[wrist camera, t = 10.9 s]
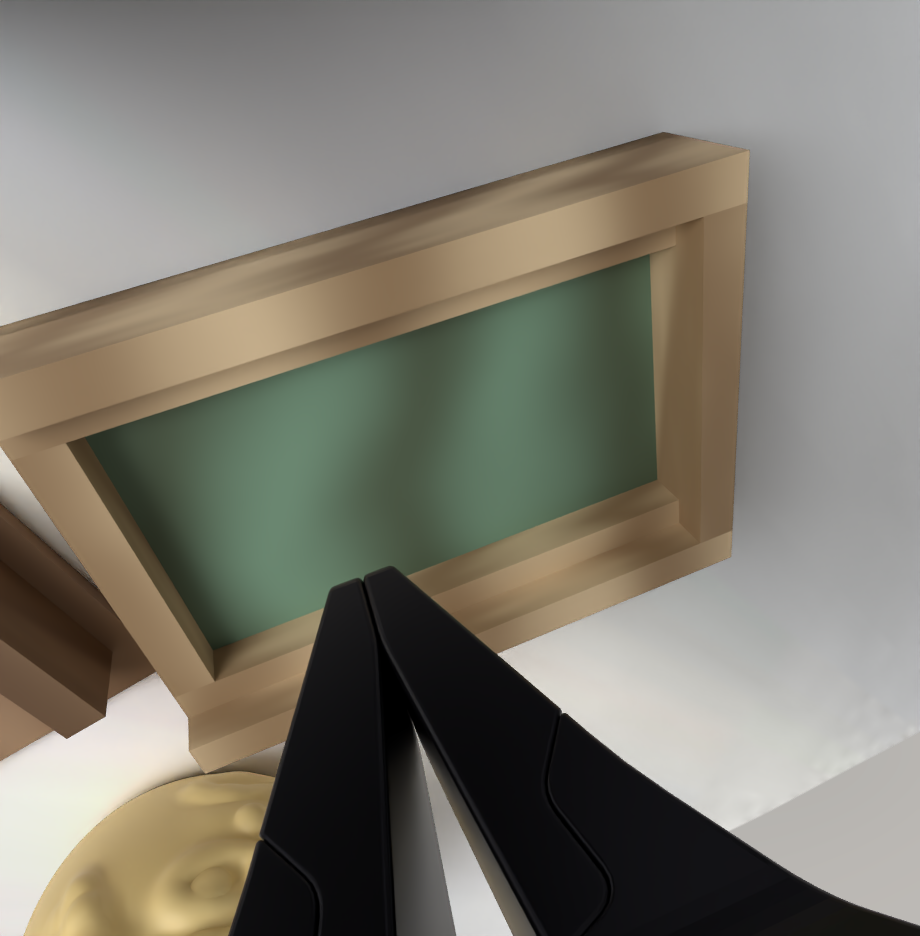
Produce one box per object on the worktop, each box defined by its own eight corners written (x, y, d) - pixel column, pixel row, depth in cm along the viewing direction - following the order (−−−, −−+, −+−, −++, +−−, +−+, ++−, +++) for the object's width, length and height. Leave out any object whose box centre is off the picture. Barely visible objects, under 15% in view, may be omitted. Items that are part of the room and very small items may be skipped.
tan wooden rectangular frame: (663, 132, 19) (749, 149, 16) (671, 499, 27) (731, 556, 24) (-23, 333, 16) (-66, 398, 13) (202, 682, 24) (205, 773, 21)
